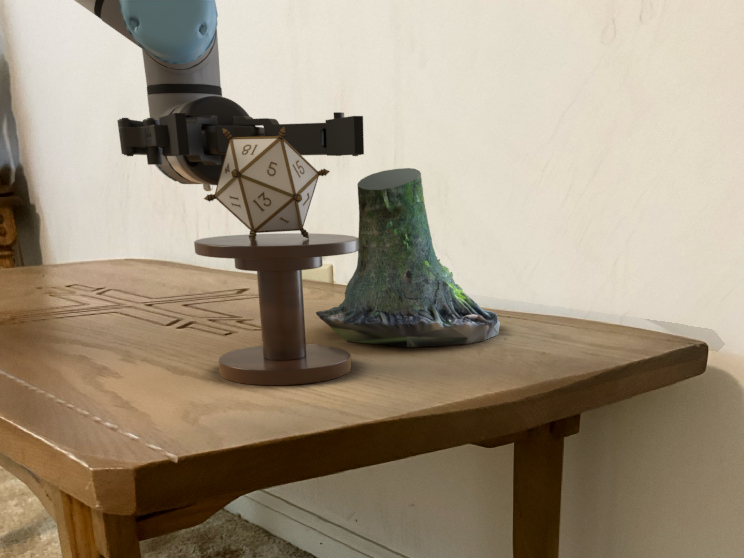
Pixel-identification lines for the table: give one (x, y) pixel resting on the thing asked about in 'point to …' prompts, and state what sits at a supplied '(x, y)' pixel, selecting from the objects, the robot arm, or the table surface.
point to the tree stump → (403, 275)
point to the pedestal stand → (281, 307)
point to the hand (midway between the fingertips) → (274, 134)
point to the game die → (266, 184)
